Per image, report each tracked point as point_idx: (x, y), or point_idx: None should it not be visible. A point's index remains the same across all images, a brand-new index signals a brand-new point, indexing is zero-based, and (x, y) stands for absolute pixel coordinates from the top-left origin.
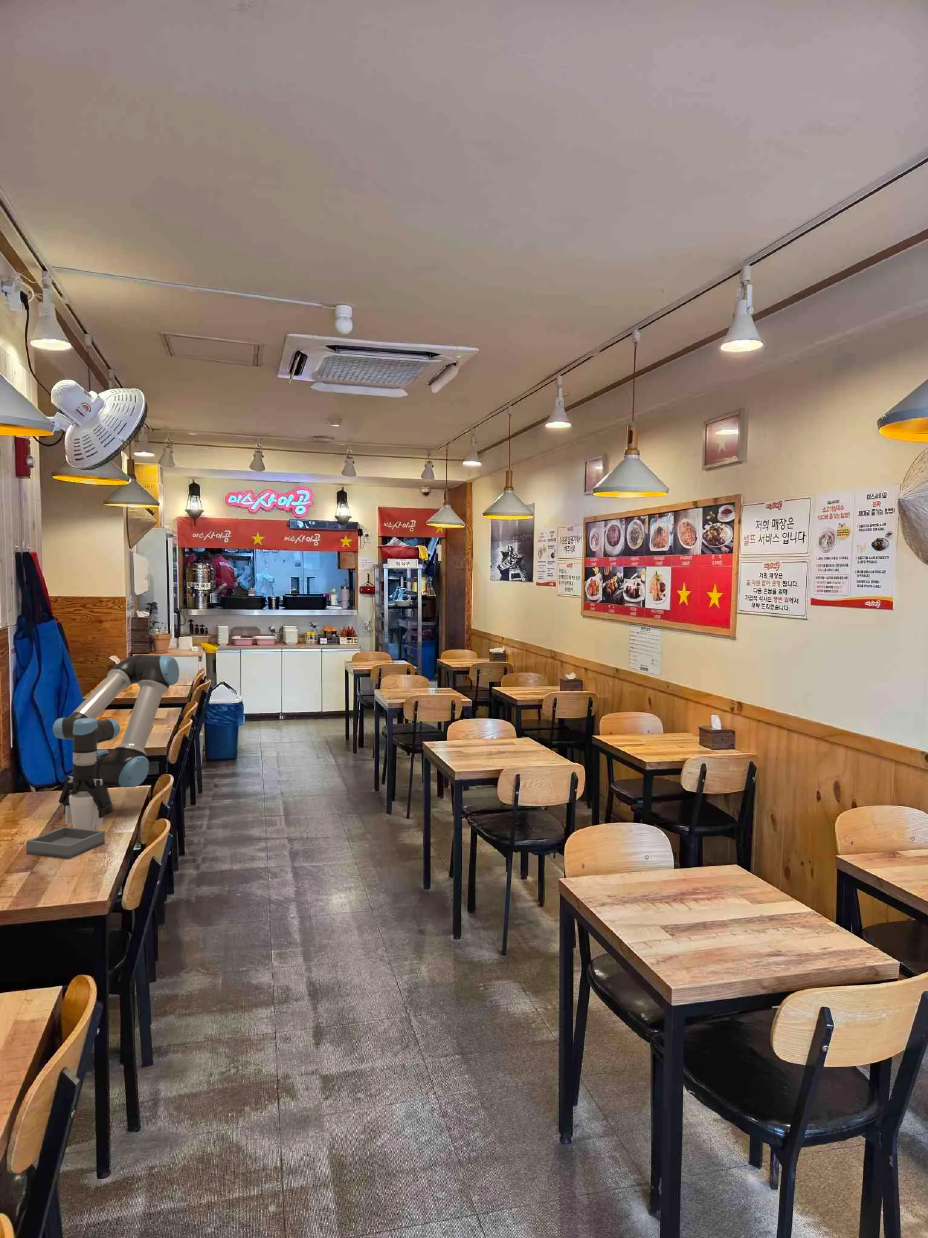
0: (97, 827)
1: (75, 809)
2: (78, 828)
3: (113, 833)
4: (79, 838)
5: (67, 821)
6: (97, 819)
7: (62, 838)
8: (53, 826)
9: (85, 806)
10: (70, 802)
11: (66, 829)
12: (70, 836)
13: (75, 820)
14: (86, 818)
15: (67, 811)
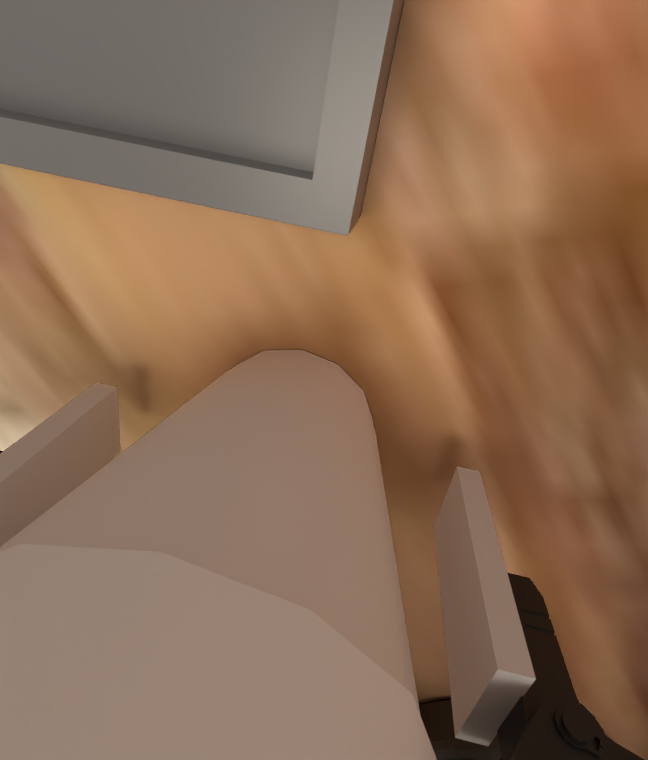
0: (91, 387)
1: (209, 494)
2: (107, 180)
3: (46, 402)
4: (125, 133)
5: (459, 492)
6: (30, 432)
7: (312, 93)
8: (637, 541)
9: (6, 547)
10: (303, 656)
11: (283, 171)
12: (245, 159)
13: (285, 410)
14: (146, 435)
15: (480, 592)
